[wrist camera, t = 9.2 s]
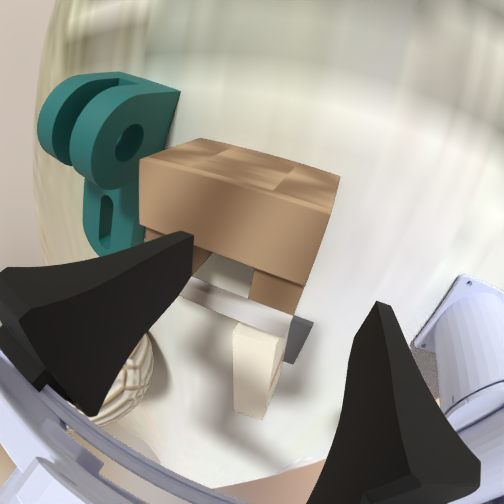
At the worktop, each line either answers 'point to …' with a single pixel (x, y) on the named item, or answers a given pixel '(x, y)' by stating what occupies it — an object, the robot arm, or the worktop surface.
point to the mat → (296, 338)
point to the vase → (126, 386)
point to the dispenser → (240, 222)
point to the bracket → (107, 146)
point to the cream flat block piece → (255, 368)
